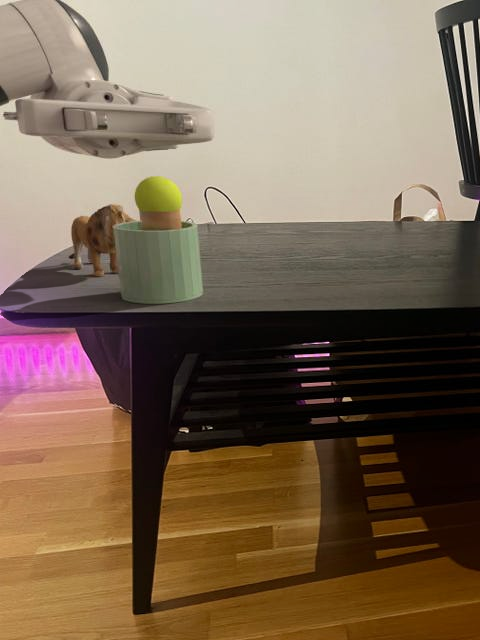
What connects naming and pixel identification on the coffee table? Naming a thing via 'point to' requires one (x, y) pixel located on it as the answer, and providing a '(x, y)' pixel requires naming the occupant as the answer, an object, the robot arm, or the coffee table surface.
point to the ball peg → (158, 204)
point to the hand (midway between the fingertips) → (147, 122)
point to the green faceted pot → (158, 263)
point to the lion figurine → (97, 236)
